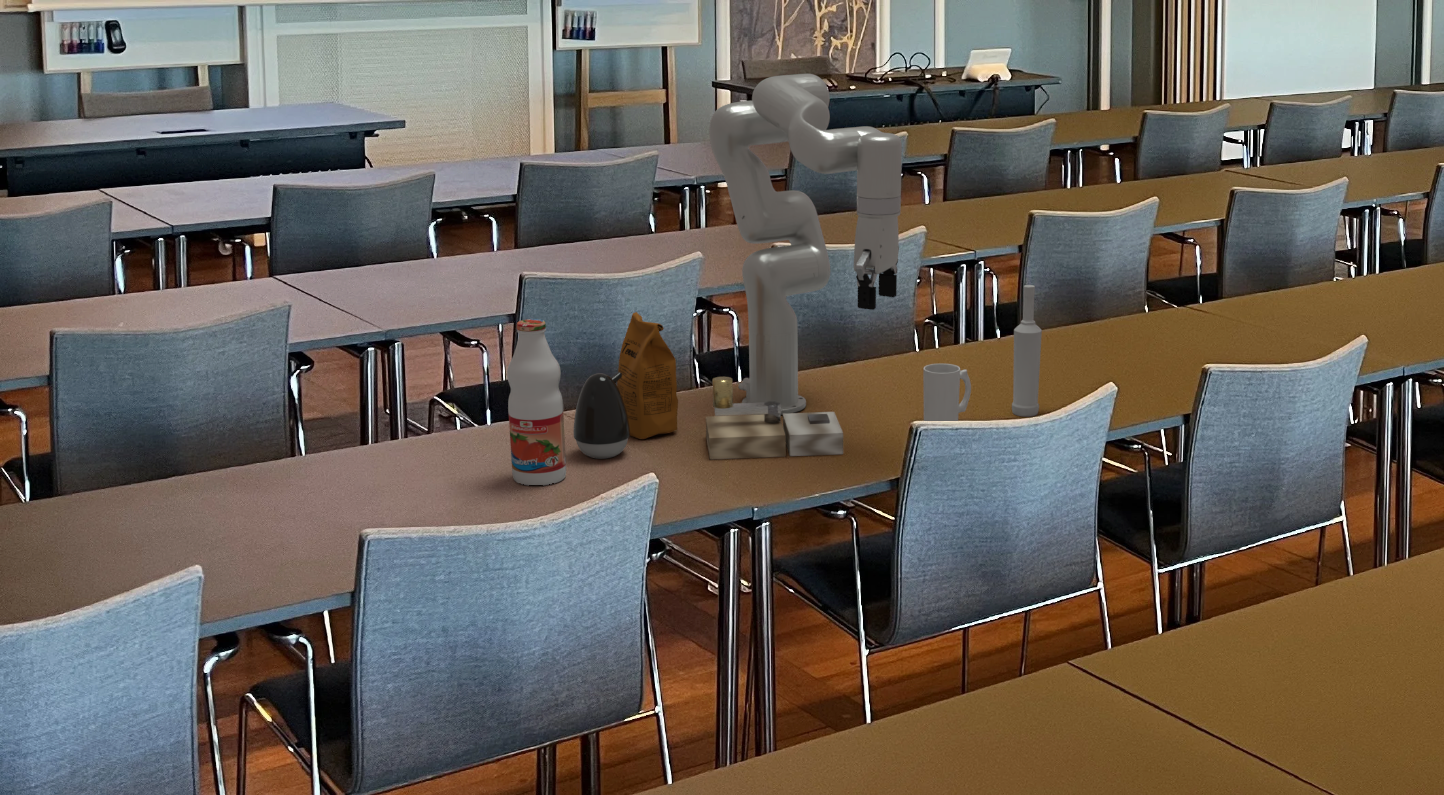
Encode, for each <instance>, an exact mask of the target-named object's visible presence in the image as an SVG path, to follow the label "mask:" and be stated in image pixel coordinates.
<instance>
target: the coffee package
mask: <svg viewBox="0 0 1444 795" xmlns="http://www.w3.org/2000/svg"><path fill="white" fill-rule="evenodd" d="M643 320H644V319H643V316H642V315H641V314H639V313H638V312H637V311H635V312H633V313H632V314H631V318H630V321H629V323H628V326H627V329H626V333H625V336H624V338H623V341H622V344H621V348H620V353H619V359H618V369H617V373H618V372H620V373H621V374H622V377H621V378H620V379H619V380H618V381H617V382H616V385H617V387H618V389H619V391H620V393H621V396H622V398H623V401H624V404H625V407H626V411H627V415H628V420H629V426H630V436H629V437H633V438H636V439H638V440H645V439H648V438H650V437H654V436H657V435H664V434H670V433H672V432H675V431H678V412H679V411H678V409H679V398H678V396H677V389H678V386H677V385H678V384H677V362H676V361H677V360H676V358H675V356H674V354H673V352H672V351H671V349H670V348H669V346H668V345H667V343H666V342H665V341H664V340H665V339H664V338H663V336H662V335H661V333H660V332H662V331H663V330H664V329H665V328H664V326H663V324H661V323H657V322H650V321H643Z"/></svg>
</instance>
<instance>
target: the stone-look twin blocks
mask: <svg viewBox="0 0 1444 795" xmlns="http://www.w3.org/2000/svg"><path fill="white" fill-rule="evenodd" d="M843 431H844V430H843V429H842V427H841V425H840V422H839V420H838V418H837V415H836V412H835V411H820V412H794V413H788V414H782V420H781V421H780V422H778V423H767V422H765V421H764V414H752V415H725V416H715V415H714V416H713V415H712V416H705V439H706V444H707V450H708V455H709V460H726V459H729V460H730V459H732V460H733V459H751V458H752V459H753V458H754V459H755V458H779V457H781V458H782V457H783V458H784V457H786V456H787V455H786V454H787V453H786V452H788V454H789V457H797V456H798V457H802V456H803V457H804V456H807V457H808V456H827V455H828V456H829V455H831V456H832V455H833V456H834V455H843V454H844V432H843ZM786 449H787V450H786Z"/></svg>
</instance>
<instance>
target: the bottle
mask: <svg viewBox="0 0 1444 795" xmlns="http://www.w3.org/2000/svg"><path fill="white" fill-rule="evenodd" d="M1035 293H1036V287H1035V285H1033V284H1025V285H1023V309H1022V320H1021V321H1020V323H1019V325H1017V326H1016V327H1015V328H1014V329H1013V389H1012V390H1013V396H1012V397H1013V398H1012V400H1013V402H1012V403H1011V411H1012V414H1013V415H1016V416H1017V417H1035V416H1037V415H1038V413H1039V410H1040V404H1039V384H1040V371H1041V370H1040V366H1041V352H1042V351H1041V350H1042V349H1041V348H1042V334H1043V333H1042V332H1043V330H1042V329H1041V328H1040V327H1039V326H1038V325H1037V323H1036V321H1035V320H1034V318H1035V316H1034V315H1035V314H1034V313H1035V296H1036V295H1035Z"/></svg>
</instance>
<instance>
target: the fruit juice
mask: <svg viewBox="0 0 1444 795" xmlns="http://www.w3.org/2000/svg"><path fill="white" fill-rule="evenodd" d="M546 324H547V323H546V322H545V320H543V319H540V318H539V319H538V318H527V319H522V320H519V321H518V322H516V330H517V331H516V333H518V338H517V342H516V346H515V350H514V352H513V356H512V357H511V360H510V362H509V363H508V366H507V371H506V375H507V380H508V384H509V387H510V393H509V396H508V400H507V401H508V402H507V403H508V404H507V405H508V407H507V409H508V410H507V411H508V423H509V425H508V426H509V427H508V428H509V442H510V456H511V458H510V459H511V460H510V461H511V473H512V478H513V480H514V482H515V483H517V484H519V483H521V484H520V485H523V484H524V486H529V485H543V486H549V484H550V485H553V484H552V483H554V484H556V483H559V482H561V481H563V480H564V479H565V478H566V474H567V457H566V456H567V455H566V441H565V440H566V437H565V416H564V401H563V396H562V393H561V391H560V389H559V385H560V380H561V375H562V374H561V367H560V364H559V362H558V360H557V359H556V358H555V356H554V355H553V353H552V351H551V348H550V346H549V343H548V340H547V338H546V335H545V333H546V331H547V325H546Z"/></svg>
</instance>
